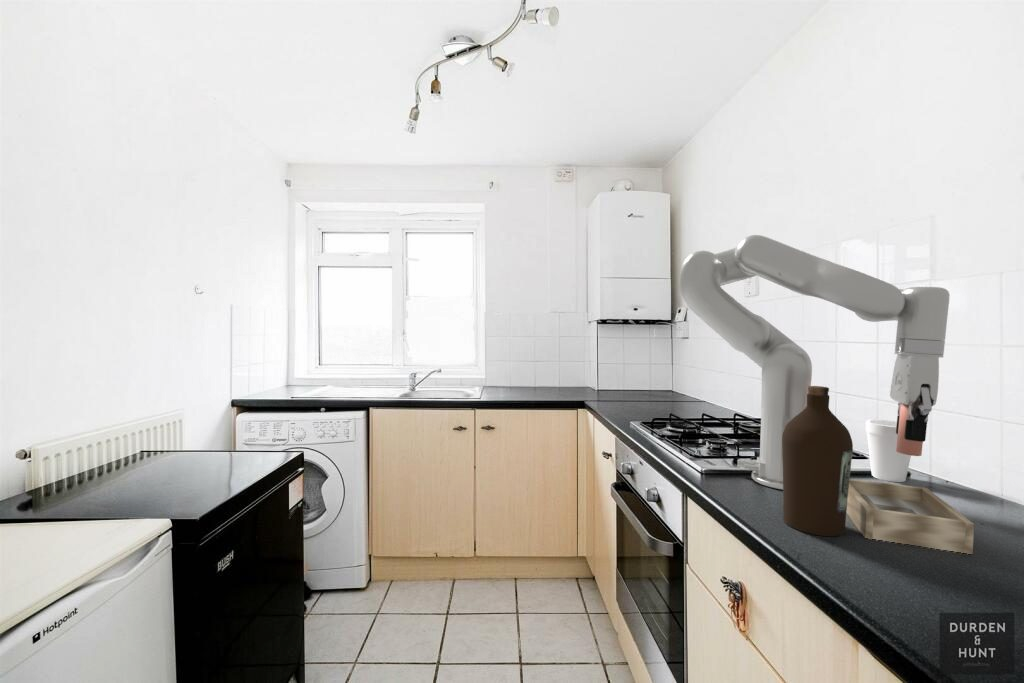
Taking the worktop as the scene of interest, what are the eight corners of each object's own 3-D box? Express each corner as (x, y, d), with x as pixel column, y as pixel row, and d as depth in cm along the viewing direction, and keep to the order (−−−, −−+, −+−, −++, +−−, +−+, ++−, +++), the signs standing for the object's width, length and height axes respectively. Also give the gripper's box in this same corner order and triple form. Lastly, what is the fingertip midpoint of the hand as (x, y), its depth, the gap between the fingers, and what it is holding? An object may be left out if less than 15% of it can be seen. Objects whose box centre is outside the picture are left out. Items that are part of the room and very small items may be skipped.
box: (865, 538, 80) (866, 509, 80) (838, 502, 97) (839, 477, 97) (972, 555, 75) (974, 523, 75) (925, 513, 92) (926, 487, 91)
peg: (900, 454, 96) (906, 395, 95) (893, 449, 100) (898, 392, 99) (924, 457, 95) (931, 397, 94) (916, 452, 98) (922, 394, 98)
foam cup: (910, 476, 115) (913, 422, 114) (917, 487, 107) (920, 429, 106) (862, 469, 120) (864, 418, 119) (865, 479, 112) (867, 424, 111)
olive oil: (775, 527, 84) (780, 387, 83) (782, 509, 93) (787, 381, 92) (849, 544, 78) (855, 393, 77) (849, 523, 87) (855, 386, 86)
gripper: (882, 345, 105) (874, 427, 106) (912, 349, 90) (902, 444, 91) (925, 348, 102) (916, 431, 103) (963, 352, 87) (952, 450, 88)
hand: (910, 436), depth 97 cm, fingers closed on peg, 4 cm apart
